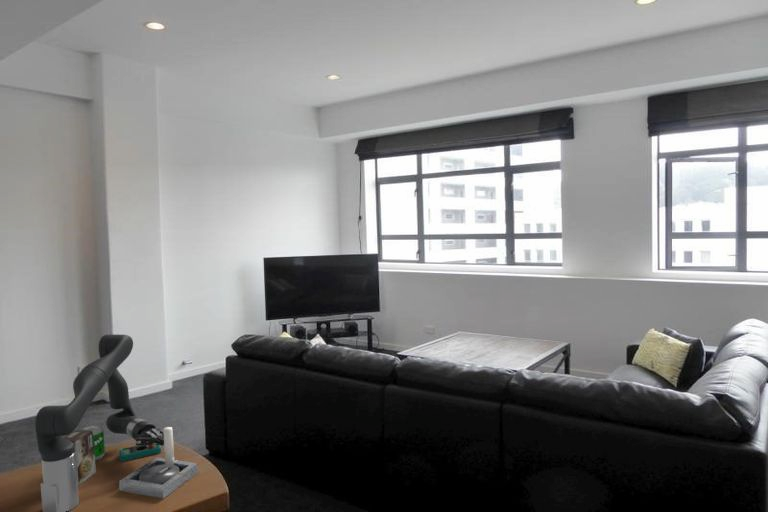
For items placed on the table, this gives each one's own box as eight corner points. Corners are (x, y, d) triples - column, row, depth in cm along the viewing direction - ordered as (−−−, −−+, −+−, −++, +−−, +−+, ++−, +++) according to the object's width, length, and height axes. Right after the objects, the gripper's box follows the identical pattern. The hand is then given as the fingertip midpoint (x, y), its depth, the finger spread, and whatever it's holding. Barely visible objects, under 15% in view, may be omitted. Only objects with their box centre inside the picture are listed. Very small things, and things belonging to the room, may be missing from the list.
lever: (162, 491, 180) (159, 444, 178) (130, 486, 184) (127, 440, 182) (187, 472, 193) (185, 428, 191) (158, 468, 196) (155, 424, 195)
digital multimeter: (162, 453, 211) (162, 446, 211) (120, 463, 203) (120, 455, 203) (159, 446, 217) (159, 439, 217) (119, 455, 210) (118, 448, 209)
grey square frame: (163, 498, 177) (162, 488, 177) (119, 490, 182) (118, 480, 182) (198, 472, 194) (197, 462, 194) (156, 466, 199) (156, 456, 199)
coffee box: (80, 471, 196) (77, 429, 195) (96, 472, 195) (93, 429, 194) (62, 484, 188) (58, 439, 186) (78, 485, 186) (75, 440, 185)
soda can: (85, 455, 210) (83, 425, 209) (106, 452, 212) (104, 422, 211) (81, 463, 202) (78, 433, 201) (103, 460, 205) (100, 430, 204)
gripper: (122, 426, 200) (145, 438, 189) (157, 415, 210) (180, 426, 199) (124, 446, 200) (147, 459, 189) (158, 434, 210) (181, 445, 200)
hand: (164, 442), depth 194 cm, fingers closed
